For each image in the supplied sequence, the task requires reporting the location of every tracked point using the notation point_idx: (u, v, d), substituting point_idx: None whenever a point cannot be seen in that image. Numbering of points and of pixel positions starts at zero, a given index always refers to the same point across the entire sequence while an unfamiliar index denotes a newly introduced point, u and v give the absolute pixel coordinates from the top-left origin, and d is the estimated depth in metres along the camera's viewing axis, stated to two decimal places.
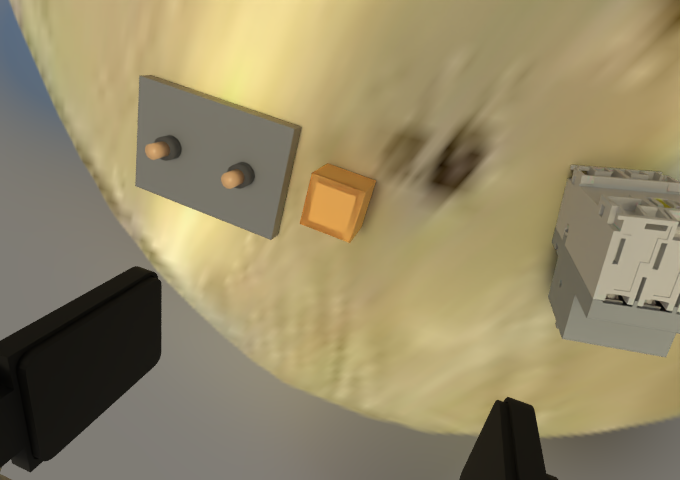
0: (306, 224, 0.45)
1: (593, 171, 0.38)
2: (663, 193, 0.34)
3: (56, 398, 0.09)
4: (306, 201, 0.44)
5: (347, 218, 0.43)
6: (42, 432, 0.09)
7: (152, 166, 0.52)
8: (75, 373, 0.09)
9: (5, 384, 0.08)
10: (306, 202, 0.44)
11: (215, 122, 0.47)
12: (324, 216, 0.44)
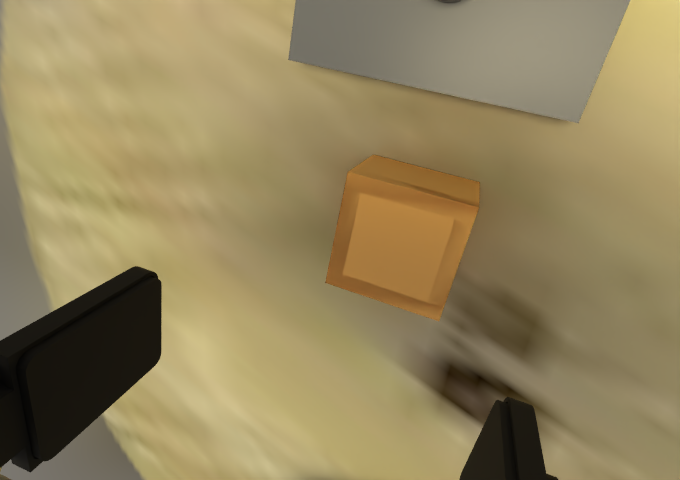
0: (348, 188, 0.19)
1: None
2: None
3: (56, 398, 0.09)
4: (405, 190, 0.18)
5: (377, 281, 0.20)
6: (42, 432, 0.09)
7: None
8: (75, 373, 0.09)
9: (5, 384, 0.08)
10: (402, 190, 0.18)
11: None
12: (374, 232, 0.19)
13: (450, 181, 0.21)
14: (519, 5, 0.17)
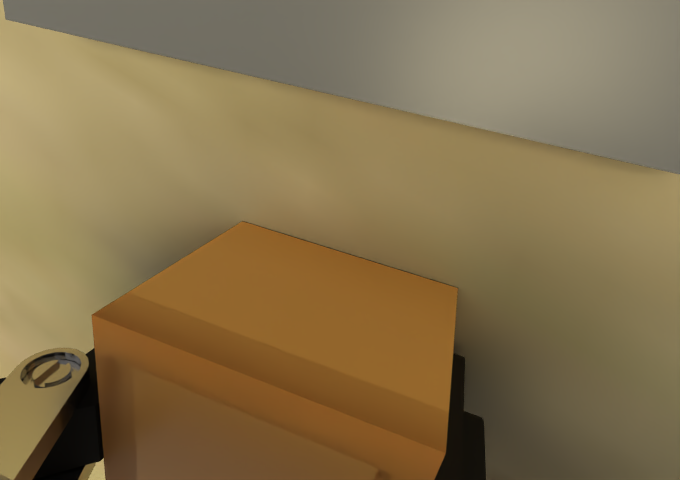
0: (104, 354, 0.07)
1: None
2: None
3: None
4: (237, 379, 0.06)
5: None
6: None
7: None
8: None
9: None
10: (231, 378, 0.06)
11: None
12: (184, 457, 0.07)
13: (388, 301, 0.09)
14: None
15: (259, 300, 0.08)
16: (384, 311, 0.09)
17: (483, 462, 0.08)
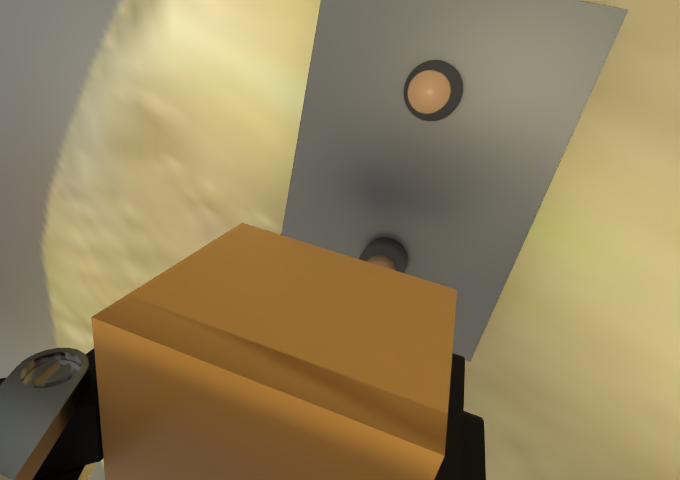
0: (103, 356, 0.07)
1: None
2: None
3: None
4: (237, 382, 0.06)
5: None
6: None
7: (383, 22, 0.21)
8: None
9: None
10: (231, 381, 0.06)
11: (488, 215, 0.22)
12: (183, 459, 0.08)
13: (388, 302, 0.09)
14: None
15: (259, 302, 0.08)
16: (383, 313, 0.09)
17: (483, 462, 0.08)
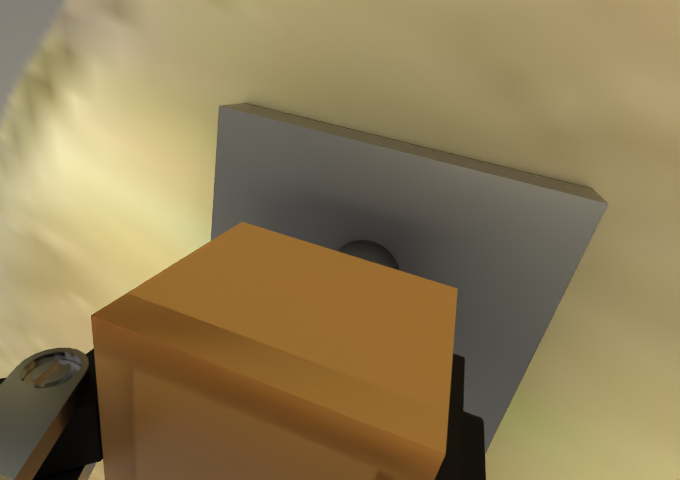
0: (103, 355, 0.07)
1: None
2: None
3: None
4: (237, 380, 0.06)
5: None
6: None
7: (294, 190, 0.16)
8: None
9: None
10: (230, 379, 0.06)
11: None
12: (183, 458, 0.07)
13: (388, 301, 0.09)
14: None
15: (259, 301, 0.08)
16: (384, 312, 0.09)
17: (483, 462, 0.08)
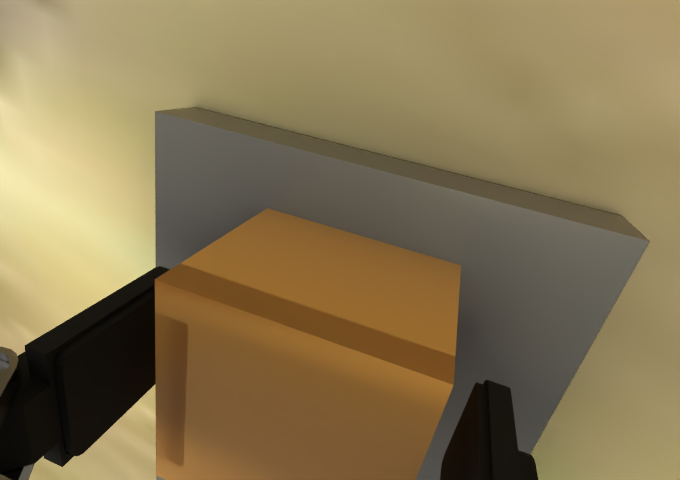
0: (163, 314, 0.08)
1: None
2: None
3: (88, 394, 0.09)
4: (280, 330, 0.08)
5: None
6: (75, 427, 0.09)
7: (250, 215, 0.13)
8: (105, 370, 0.09)
9: (41, 380, 0.08)
10: (274, 329, 0.08)
11: None
12: (229, 403, 0.09)
13: (401, 274, 0.10)
14: None
15: (290, 271, 0.09)
16: (397, 282, 0.10)
17: None
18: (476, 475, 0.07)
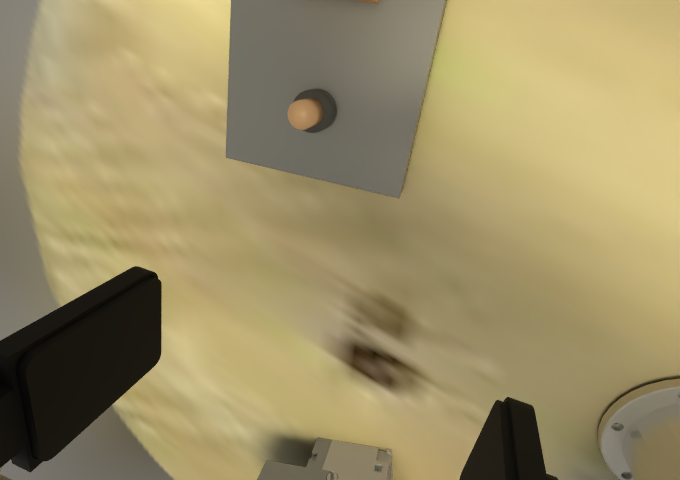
0: None
1: (387, 473, 0.42)
2: None
3: (56, 398, 0.09)
4: None
5: None
6: (42, 432, 0.09)
7: None
8: (75, 373, 0.09)
9: (5, 384, 0.08)
10: None
11: (397, 52, 0.26)
12: None
13: None
14: (356, 133, 0.29)
15: None
16: None
17: None
18: None
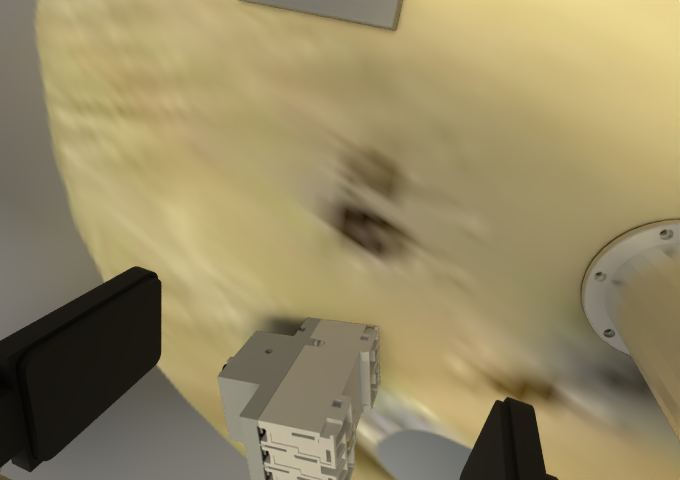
0: None
1: (374, 347, 0.42)
2: (361, 403, 0.41)
3: (56, 398, 0.09)
4: None
5: None
6: (42, 432, 0.09)
7: None
8: (75, 373, 0.09)
9: (5, 384, 0.08)
10: None
11: None
12: None
13: None
14: None
15: None
16: None
17: None
18: None
